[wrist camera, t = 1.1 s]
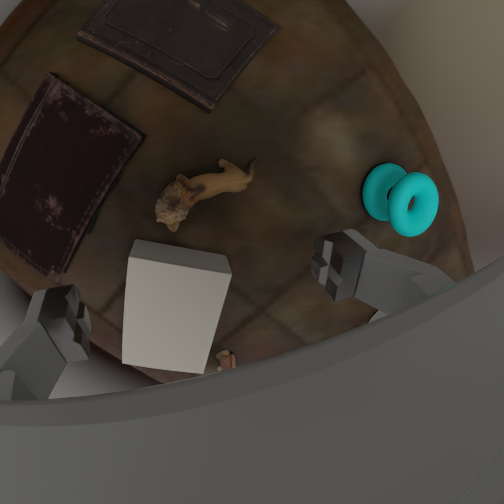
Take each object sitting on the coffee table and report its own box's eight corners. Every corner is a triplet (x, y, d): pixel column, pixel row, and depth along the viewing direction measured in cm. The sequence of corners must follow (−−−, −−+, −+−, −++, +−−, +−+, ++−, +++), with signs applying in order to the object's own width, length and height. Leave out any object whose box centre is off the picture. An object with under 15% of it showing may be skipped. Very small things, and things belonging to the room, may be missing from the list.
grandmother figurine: (243, 361, 56) (258, 411, 45) (228, 370, 56) (239, 420, 45) (220, 340, 52) (231, 394, 41) (204, 350, 53) (212, 404, 41)
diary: (-8, 213, 33) (-24, 223, 29) (58, 74, 28) (43, 69, 24) (71, 272, 41) (61, 288, 37) (152, 139, 36) (147, 141, 31)
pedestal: (226, 255, 45) (232, 274, 40) (200, 350, 52) (203, 373, 47) (135, 238, 41) (128, 256, 36) (126, 339, 48) (122, 363, 43)
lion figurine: (169, 218, 41) (165, 243, 33) (152, 186, 38) (143, 203, 30) (263, 174, 41) (282, 188, 33) (248, 140, 38) (265, 145, 30)
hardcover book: (150, -39, 23) (148, -46, 21) (276, 31, 32) (281, 27, 30) (79, 41, 27) (74, 37, 25) (208, 113, 36) (209, 113, 34)
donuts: (406, 167, 34) (448, 183, 37) (366, 155, 43) (409, 168, 45) (387, 236, 38) (430, 242, 41) (352, 213, 47) (395, 220, 49)
